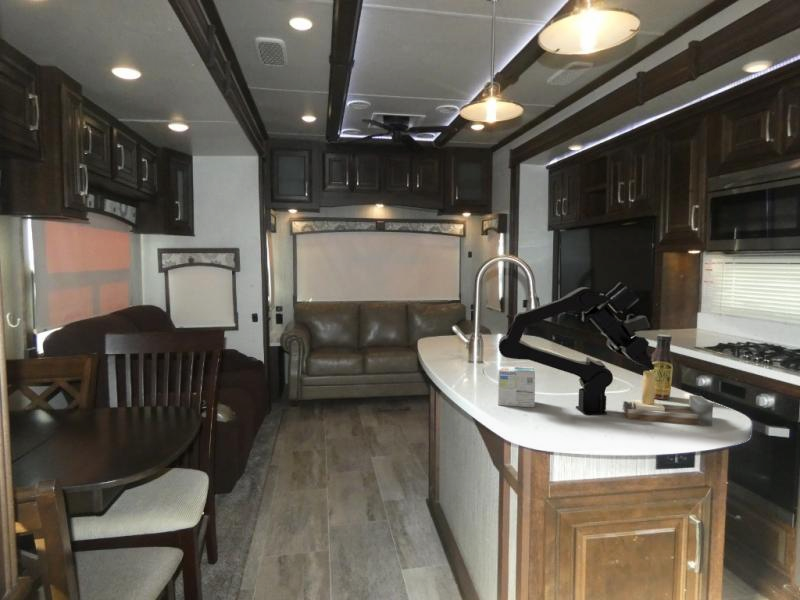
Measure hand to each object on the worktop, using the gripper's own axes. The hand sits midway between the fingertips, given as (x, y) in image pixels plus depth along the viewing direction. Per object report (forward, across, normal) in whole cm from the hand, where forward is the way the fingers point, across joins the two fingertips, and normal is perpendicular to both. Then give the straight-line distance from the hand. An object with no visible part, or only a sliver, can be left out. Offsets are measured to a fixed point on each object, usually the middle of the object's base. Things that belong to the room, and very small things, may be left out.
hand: (646, 366), depth 135 cm
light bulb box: (-13, +6, +35) cm, 38 cm away
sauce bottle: (+17, +19, +1) cm, 25 cm away
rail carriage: (+9, -1, +8) cm, 12 cm away
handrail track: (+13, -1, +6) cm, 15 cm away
